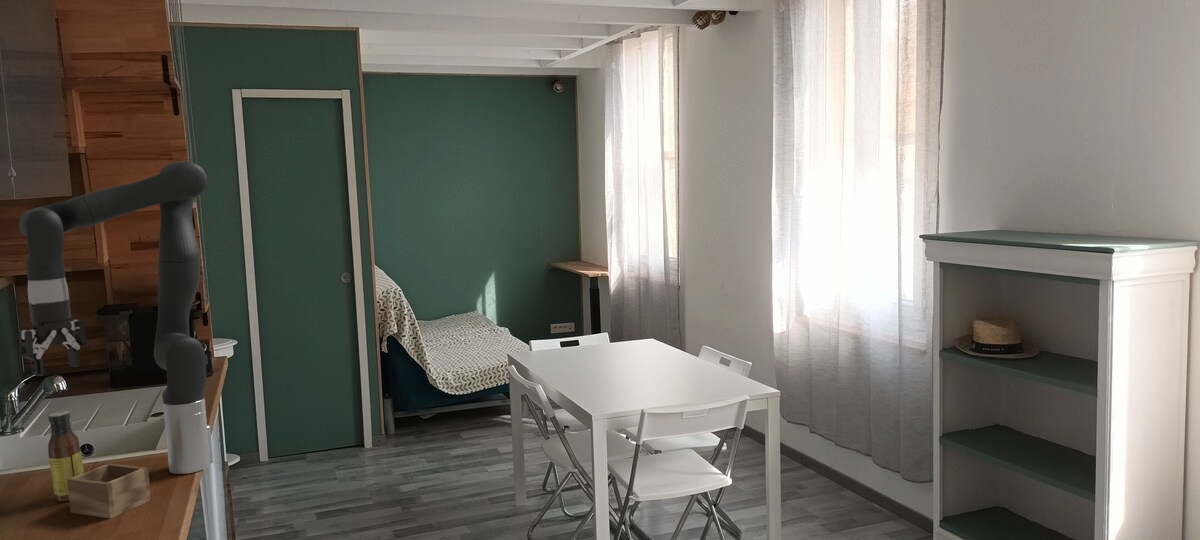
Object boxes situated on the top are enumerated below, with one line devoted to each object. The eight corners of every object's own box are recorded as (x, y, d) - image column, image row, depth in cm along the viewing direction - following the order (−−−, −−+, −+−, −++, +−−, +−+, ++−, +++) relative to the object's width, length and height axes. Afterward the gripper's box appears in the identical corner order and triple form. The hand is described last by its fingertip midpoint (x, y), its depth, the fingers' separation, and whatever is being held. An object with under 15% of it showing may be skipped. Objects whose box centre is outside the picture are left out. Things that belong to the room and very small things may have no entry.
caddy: (112, 495, 199) (108, 463, 198) (151, 500, 195) (147, 467, 194) (70, 512, 189) (66, 479, 188) (110, 518, 185) (107, 484, 184)
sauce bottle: (80, 490, 202) (71, 407, 200) (91, 496, 198) (82, 411, 196) (49, 499, 197) (39, 413, 195) (59, 505, 193) (50, 418, 191)
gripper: (65, 293, 200) (73, 363, 202) (5, 303, 187) (14, 377, 189) (90, 294, 198) (97, 364, 200) (31, 304, 184) (39, 379, 186)
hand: (56, 370), depth 194 cm, fingers open, 8 cm apart
